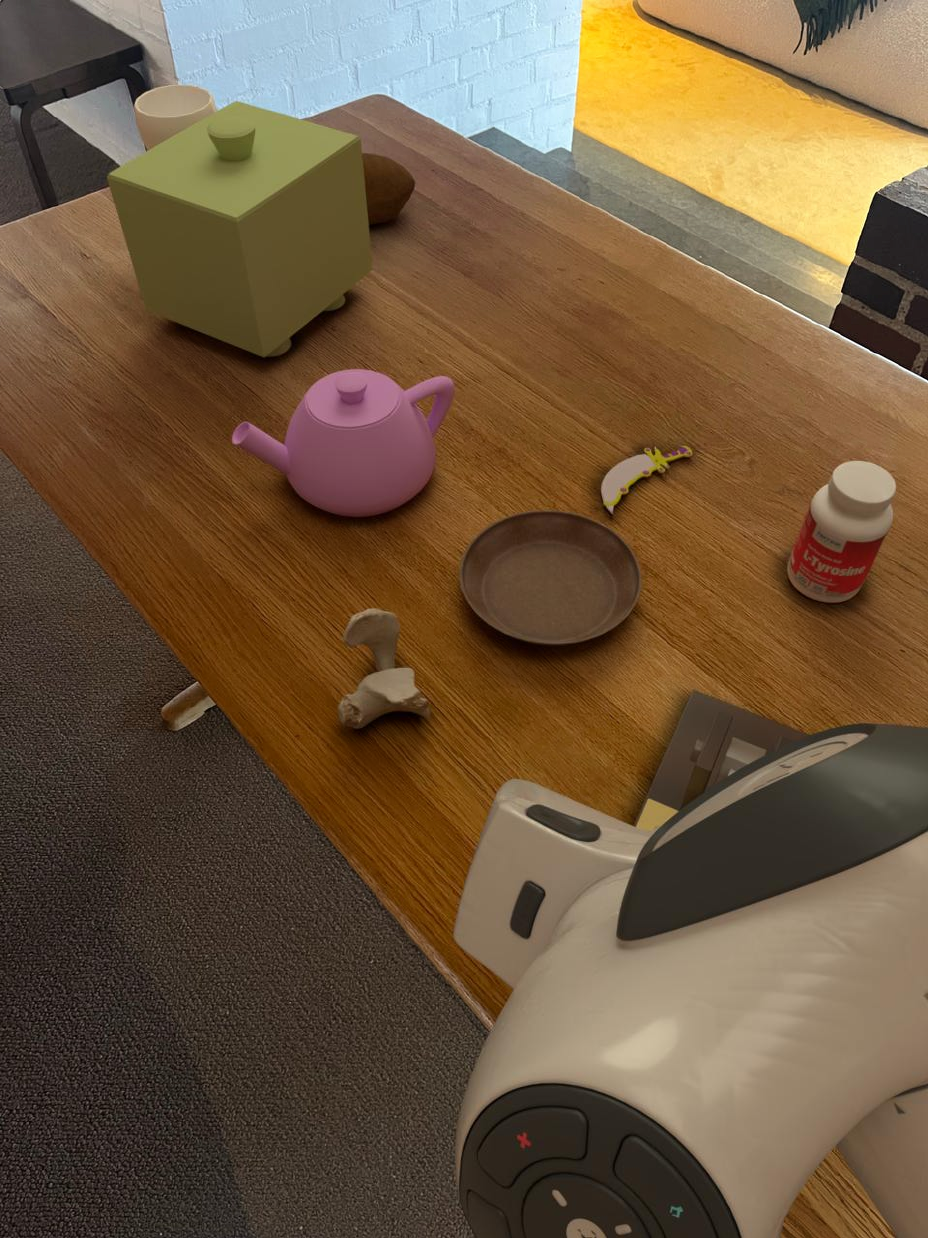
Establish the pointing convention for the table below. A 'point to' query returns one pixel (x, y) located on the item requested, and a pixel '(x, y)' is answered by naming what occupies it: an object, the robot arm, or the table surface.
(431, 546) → the table surface
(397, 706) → the bone
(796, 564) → the pill bottle
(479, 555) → the saucer
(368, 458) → the teapot
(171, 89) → the cup
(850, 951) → the robot arm
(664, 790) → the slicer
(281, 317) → the container
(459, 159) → the table surface
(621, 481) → the decorative knife
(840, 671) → the table surface
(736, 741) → the ball-knob lever switch
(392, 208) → the potato
